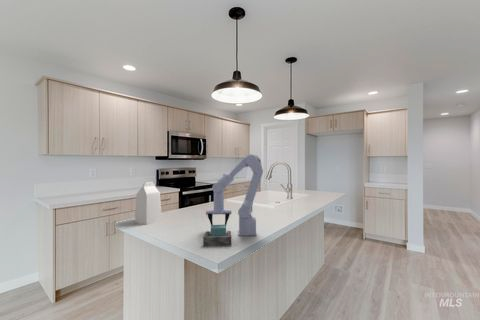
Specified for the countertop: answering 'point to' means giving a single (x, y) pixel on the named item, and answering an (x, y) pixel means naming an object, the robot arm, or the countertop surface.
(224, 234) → the block
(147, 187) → the milk
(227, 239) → the guide lane
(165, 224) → the countertop surface
